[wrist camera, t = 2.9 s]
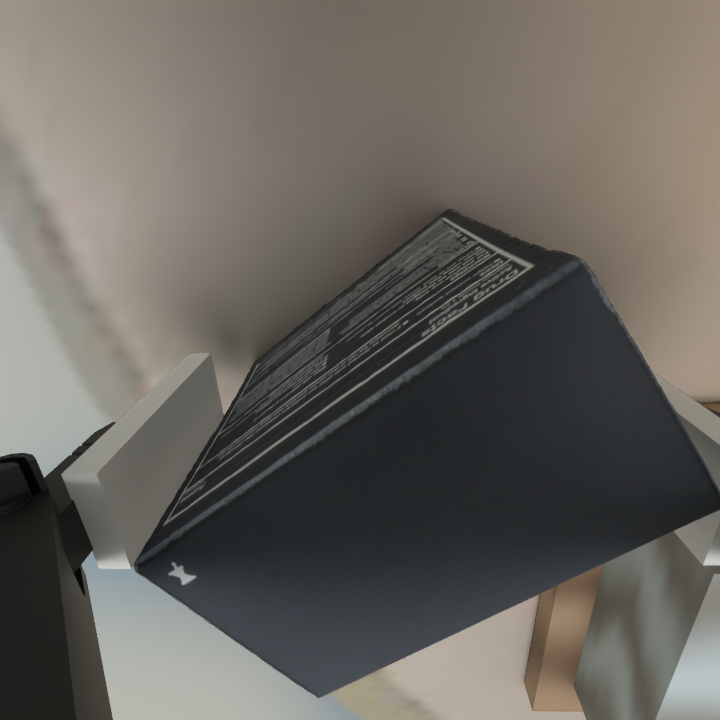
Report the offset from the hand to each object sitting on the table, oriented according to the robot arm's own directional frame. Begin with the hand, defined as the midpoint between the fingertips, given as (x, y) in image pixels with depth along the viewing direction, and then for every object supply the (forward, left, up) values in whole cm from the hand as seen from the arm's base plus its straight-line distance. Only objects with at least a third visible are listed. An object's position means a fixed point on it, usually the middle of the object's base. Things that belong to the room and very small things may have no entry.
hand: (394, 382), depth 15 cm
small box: (0, 0, -3) cm, 3 cm away
